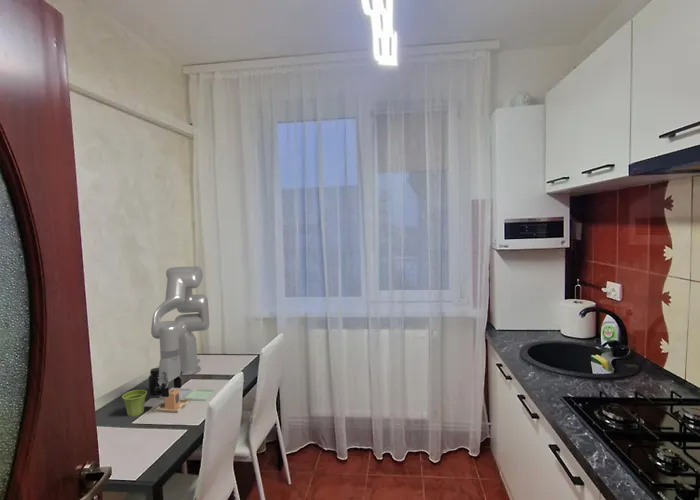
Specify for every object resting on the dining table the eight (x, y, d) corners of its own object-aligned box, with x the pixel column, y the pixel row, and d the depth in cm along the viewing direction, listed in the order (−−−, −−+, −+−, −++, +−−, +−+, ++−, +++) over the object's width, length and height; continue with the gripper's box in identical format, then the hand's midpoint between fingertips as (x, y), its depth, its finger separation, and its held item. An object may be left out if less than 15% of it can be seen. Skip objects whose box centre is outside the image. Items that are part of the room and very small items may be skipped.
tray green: (195, 391, 196) (194, 388, 195) (216, 392, 194) (215, 389, 194) (183, 401, 185) (183, 398, 185) (205, 402, 184) (205, 399, 184)
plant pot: (153, 410, 177) (151, 391, 176) (135, 420, 168) (133, 400, 167) (136, 407, 180) (135, 388, 179) (118, 417, 171) (116, 397, 170)
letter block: (170, 404, 181) (170, 388, 181) (180, 404, 180) (179, 389, 180) (165, 409, 177) (164, 393, 176) (174, 409, 176) (174, 393, 176)
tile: (151, 399, 188) (151, 398, 188) (167, 400, 187) (167, 398, 187) (140, 407, 180) (140, 405, 180) (157, 407, 179) (157, 406, 179)
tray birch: (168, 402, 184) (168, 399, 184) (190, 403, 183) (190, 399, 183) (154, 413, 174) (154, 409, 174) (177, 414, 173) (177, 410, 173)
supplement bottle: (158, 397, 190) (157, 372, 189) (145, 396, 191) (144, 371, 190) (168, 391, 197) (166, 367, 196) (155, 390, 198) (154, 366, 197)
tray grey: (171, 390, 197) (171, 387, 197) (192, 391, 196) (192, 388, 196) (158, 400, 187) (158, 397, 186) (180, 401, 185) (180, 398, 185)
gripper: (172, 347, 186) (174, 384, 187) (149, 359, 169) (151, 400, 169) (188, 347, 185) (190, 384, 186) (166, 359, 168) (168, 400, 168)
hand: (171, 392), depth 178 cm, fingers open, 9 cm apart
